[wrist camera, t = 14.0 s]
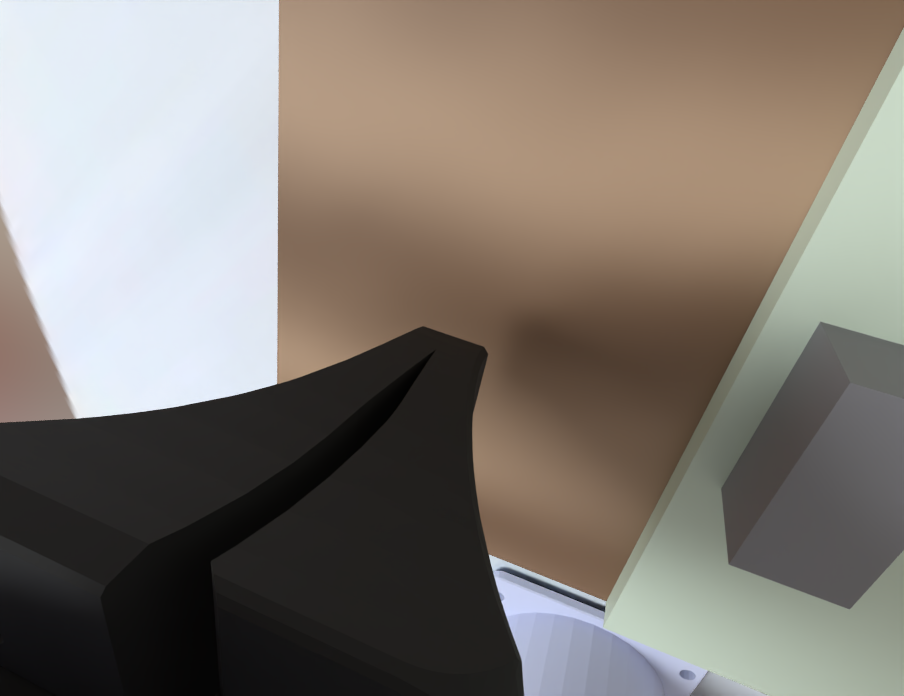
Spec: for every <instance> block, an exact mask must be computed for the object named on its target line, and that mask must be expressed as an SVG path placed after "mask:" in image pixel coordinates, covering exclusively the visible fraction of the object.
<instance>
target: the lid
mask: <svg viewBox="0 0 904 696" xmlns="http://www.w3.org/2000/svg"><path fill="white" fill-rule="evenodd" d="M603 628H605V629H607V630H610V631H612V632H615V633H617V634H620V635H622V636H624V637H627V638H629V639H632V640H634V641H637V642H639V643H642V644H644V645H646V646H649V647H651V648H654V649H656V650H659V651H661V652H664V653H666V654H668V655H671V656H673V657H676V658H678V659H681V660H683V661H685V662H688V663H690V664H693V665H695V666H698V667H700V668H703V669H705V670H707V671H710V672H712V673H715V674H717V675H720V676H722V677H725V678H727V679H729V680H732V681H734V682H737V683H739V684H742V685H744V686H747V687H749V688H751V689H754V690H756V691H759V692H761V693H764V694H766V695H769V696H904V28H903V30H902V32H901V34H900V36H899V38H898V40H897V42H896V43H895V45H894V47H893V49H892V51H891V53H890V55H889V57H888V59H887V61H886V63H885V65H884V67H883V69H882V71H881V72H880V74H879V76H878V78H877V80H876V82H875V84H874V86H873V88H872V90H871V92H870V94H869V96H868V98H867V99H866V101H865V103H864V105H863V107H862V109H861V111H860V113H859V115H858V117H857V119H856V121H855V123H854V125H853V126H852V128H851V130H850V132H849V134H848V136H847V138H846V140H845V142H844V144H843V146H842V148H841V150H840V152H839V153H838V155H837V157H836V159H835V161H834V163H833V165H832V167H831V169H830V171H829V173H828V175H827V177H826V179H825V181H824V182H823V184H822V186H821V188H820V190H819V192H818V194H817V196H816V198H815V200H814V202H813V204H812V206H811V208H810V209H809V211H808V213H807V215H806V217H805V219H804V221H803V223H802V225H801V227H800V229H799V231H798V233H797V235H796V236H795V238H794V240H793V242H792V244H791V246H790V248H789V250H788V252H787V254H786V256H785V258H784V260H783V262H782V264H781V265H780V267H779V269H778V271H777V273H776V275H775V277H774V279H773V281H772V283H771V285H770V287H769V289H768V291H767V292H766V294H765V296H764V298H763V300H762V302H761V304H760V306H759V308H758V310H757V312H756V314H755V316H754V318H753V319H752V321H751V323H750V325H749V327H748V329H747V331H746V333H745V335H744V337H743V339H742V341H741V343H740V345H739V346H738V348H737V350H736V352H735V354H734V356H733V358H732V360H731V362H730V364H729V366H728V368H727V370H726V372H725V374H724V375H723V377H722V379H721V381H720V383H719V385H718V387H717V389H716V391H715V393H714V395H713V397H712V399H711V401H710V402H709V404H708V406H707V408H706V410H705V412H704V414H703V416H702V418H701V420H700V422H699V424H698V426H697V428H696V429H695V431H694V433H693V435H692V437H691V439H690V441H689V443H688V445H687V447H686V449H685V451H684V453H683V455H682V457H681V458H680V460H679V462H678V464H677V466H676V468H675V470H674V472H673V474H672V476H671V478H670V480H669V482H668V484H667V485H666V487H665V489H664V491H663V493H662V495H661V497H660V499H659V501H658V503H657V505H656V507H655V509H654V511H653V512H652V514H651V516H650V518H649V520H648V522H647V524H646V526H645V528H644V530H643V532H642V534H641V536H640V538H639V540H638V541H637V543H636V545H635V547H634V549H633V551H632V553H631V555H630V557H629V559H628V561H627V563H626V565H625V567H624V568H623V570H622V572H621V574H620V576H619V578H618V580H617V582H616V584H615V586H614V588H613V590H612V592H611V594H610V595H609V597H608V599H607V601H606V607H605V615H604V623H603Z"/></svg>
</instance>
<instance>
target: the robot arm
mask: <svg viewBox="0 0 904 696" xmlns="http://www.w3.org/2000/svg"><path fill="white" fill-rule="evenodd" d="M487 357H488V353H487V351H486V349H485V347H483V346H480V345H477V344H475V343H472V342H469V341H466V340H463V339H460V338H457V337H454V336H451V335H448V334H445V333H442V332H439V331H436V330H433V329H430V328H427V327H424V326H422V327H419V328H417V329H414V330H412V331H410V332H408V333H405V334H403V335H401V336H399V337H397V338H395V339H392V340H390V341H388V342H386V343H384V344H382V345H379V346H377V347H375V348H372V349H370V350H368V351H366V352H363V353H361V354H359V355H356V356H354V357H352V358H349V359H347V360H345V361H342V362H339V363H337V364H334V365H331V366H329V367H326V368H323V369H320V370H318V371H315V372H312V373H310V374H307V375H304V376H302V377H299V378H296V379H293V380H290V381H286V382H283V383H280V384H277V385H273V386H270V387H266V388H262V389H258V390H255V391H251V392H247V393H243V394H239V395H235V396H230V397H225V398H220V399H215V400H210V401H205V402H200V403H194V404H189V405H184V406H179V407H173V408H167V409H160V410H153V411H146V412H138V413H130V414H121V415H112V416H103V417H92V418H80V419H63V420H45V421H26V422H7V423H0V696H690V695H691V693H692V692H693V691H694V690H695V688H696V687H697V686H698V684H699V683H700V682H701V680H702V679H703V678H704V676H705V675H706V674H707V672H708V671H707V670H705V669H703V668H700V667H698V666H695V665H693V664H690V663H688V662H685V661H683V660H681V659H678V658H676V657H673V656H671V655H668V654H666V653H664V652H661V651H659V650H656V649H654V648H651V647H649V646H646V645H644V644H642V643H639V642H637V641H634V640H632V639H629V638H627V637H624V636H622V635H620V634H617V633H615V632H612V631H610V630H607V629H605V628H603V623H604V615H605V612H603V611H601V610H598V609H596V608H593V607H591V606H589V605H586V604H584V603H581V602H579V601H576V600H574V599H571V598H569V597H566V596H564V595H561V594H559V593H556V592H554V591H551V590H549V589H546V588H544V587H541V586H539V585H537V584H534V583H532V582H529V581H527V580H524V579H522V578H519V577H517V576H514V575H512V574H509V573H507V572H504V571H494V572H493V571H492V567H491V563H490V559H489V554H488V550H487V545H486V541H485V536H484V532H483V527H482V523H481V518H480V513H479V506H478V499H477V493H476V485H475V475H474V464H473V442H472V423H473V412H474V408H475V404H476V400H477V396H478V392H479V389H480V385H481V381H482V377H483V373H484V369H485V365H486V361H487Z"/></svg>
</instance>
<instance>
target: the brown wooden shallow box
mask: <svg viewBox="0 0 904 696" xmlns="http://www.w3.org/2000/svg"><path fill="white" fill-rule="evenodd" d="M903 28H904V0H279V136H278V350H277V384H280V383H283V382H286V381H290V380H293V379H296V378H299V377H302V376H304V375H307V374H310V373H312V372H315V371H318V370H320V369H323V368H326V367H329V366H331V365H334V364H337V363H339V362H342V361H345V360H347V359H349V358H352V357H354V356H356V355H359V354H361V353H363V352H366V351H368V350H370V349H372V348H375V347H377V346H379V345H382V344H384V343H386V342H388V341H390V340H392V339H395V338H397V337H399V336H401V335H403V334H405V333H408V332H410V331H412V330H414V329H417V328H419V327H422V326H424V327H427V328H430V329H433V330H436V331H439V332H442V333H445V334H448V335H451V336H454V337H457V338H460V339H463V340H466V341H469V342H472V343H475V344H477V345H480V346H483V347H485V349H486V351H487V353H488V357H487V361H486V365H485V369H484V373H483V377H482V381H481V385H480V389H479V392H478V396H477V400H476V404H475V408H474V412H473V423H472V442H473V464H474V475H475V485H476V493H477V499H478V506H479V513H480V518H481V523H482V527H483V532H484V536H485V541H486V545H487V550H488V554H490V555H492V556H495V557H497V558H500V559H502V560H505V561H507V562H510V563H512V564H515V565H517V566H520V567H522V568H525V569H527V570H530V571H532V572H535V573H537V574H540V575H542V576H545V577H547V578H550V579H552V580H555V581H557V582H560V583H562V584H565V585H567V586H570V587H572V588H575V589H577V590H580V591H582V592H585V593H587V594H590V595H592V596H595V597H597V598H600V599H602V600H605V601H607V599H608V597H609V595H610V594H611V592H612V590H613V588H614V586H615V584H616V582H617V580H618V578H619V576H620V574H621V572H622V570H623V568H624V567H625V565H626V563H627V561H628V559H629V557H630V555H631V553H632V551H633V549H634V547H635V545H636V543H637V541H638V540H639V538H640V536H641V534H642V532H643V530H644V528H645V526H646V524H647V522H648V520H649V518H650V516H651V514H652V512H653V511H654V509H655V507H656V505H657V503H658V501H659V499H660V497H661V495H662V493H663V491H664V489H665V487H666V485H667V484H668V482H669V480H670V478H671V476H672V474H673V472H674V470H675V468H676V466H677V464H678V462H679V460H680V458H681V457H682V455H683V453H684V451H685V449H686V447H687V445H688V443H689V441H690V439H691V437H692V435H693V433H694V431H695V429H696V428H697V426H698V424H699V422H700V420H701V418H702V416H703V414H704V412H705V410H706V408H707V406H708V404H709V402H710V401H711V399H712V397H713V395H714V393H715V391H716V389H717V387H718V385H719V383H720V381H721V379H722V377H723V375H724V374H725V372H726V370H727V368H728V366H729V364H730V362H731V360H732V358H733V356H734V354H735V352H736V350H737V348H738V346H739V345H740V343H741V341H742V339H743V337H744V335H745V333H746V331H747V329H748V327H749V325H750V323H751V321H752V319H753V318H754V316H755V314H756V312H757V310H758V308H759V306H760V304H761V302H762V300H763V298H764V296H765V294H766V292H767V291H768V289H769V287H770V285H771V283H772V281H773V279H774V277H775V275H776V273H777V271H778V269H779V267H780V265H781V264H782V262H783V260H784V258H785V256H786V254H787V252H788V250H789V248H790V246H791V244H792V242H793V240H794V238H795V236H796V235H797V233H798V231H799V229H800V227H801V225H802V223H803V221H804V219H805V217H806V215H807V213H808V211H809V209H810V208H811V206H812V204H813V202H814V200H815V198H816V196H817V194H818V192H819V190H820V188H821V186H822V184H823V182H824V181H825V179H826V177H827V175H828V173H829V171H830V169H831V167H832V165H833V163H834V161H835V159H836V157H837V155H838V153H839V152H840V150H841V148H842V146H843V144H844V142H845V140H846V138H847V136H848V134H849V132H850V130H851V128H852V126H853V125H854V123H855V121H856V119H857V117H858V115H859V113H860V111H861V109H862V107H863V105H864V103H865V101H866V99H867V98H868V96H869V94H870V92H871V90H872V88H873V86H874V84H875V82H876V80H877V78H878V76H879V74H880V72H881V71H882V69H883V67H884V65H885V63H886V61H887V59H888V57H889V55H890V53H891V51H892V49H893V47H894V45H895V43H896V42H897V40H898V38H899V36H900V34H901V32H902V30H903Z"/></svg>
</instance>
